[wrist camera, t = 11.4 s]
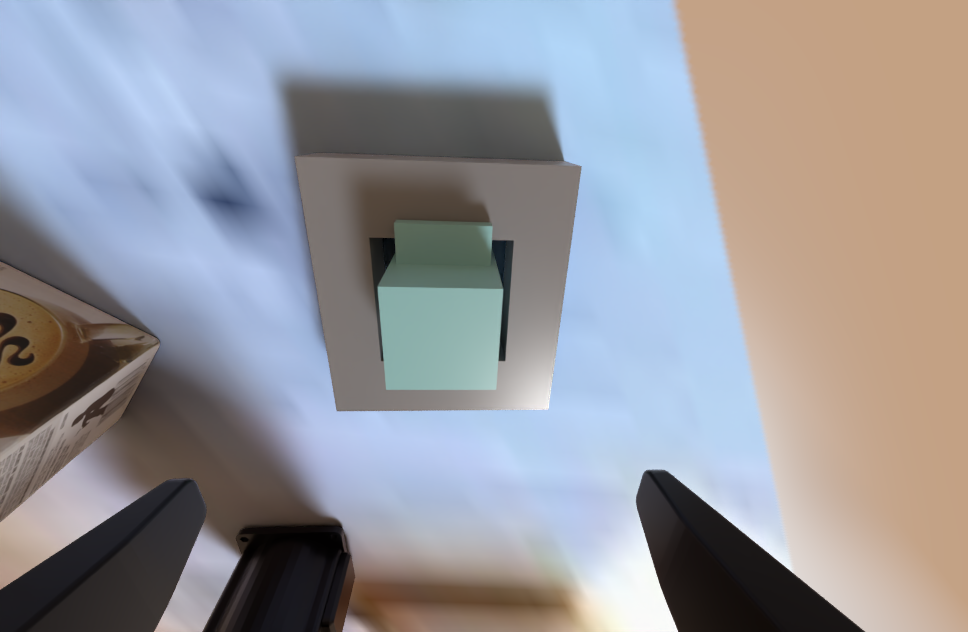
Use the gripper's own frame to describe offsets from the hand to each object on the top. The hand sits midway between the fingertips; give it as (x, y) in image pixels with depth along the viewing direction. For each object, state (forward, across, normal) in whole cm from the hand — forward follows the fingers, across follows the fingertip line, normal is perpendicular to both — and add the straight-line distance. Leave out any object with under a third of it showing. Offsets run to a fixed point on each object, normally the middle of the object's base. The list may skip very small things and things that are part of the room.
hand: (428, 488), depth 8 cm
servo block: (+12, 0, 0) cm, 12 cm away
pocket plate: (+12, 0, 0) cm, 12 cm away
